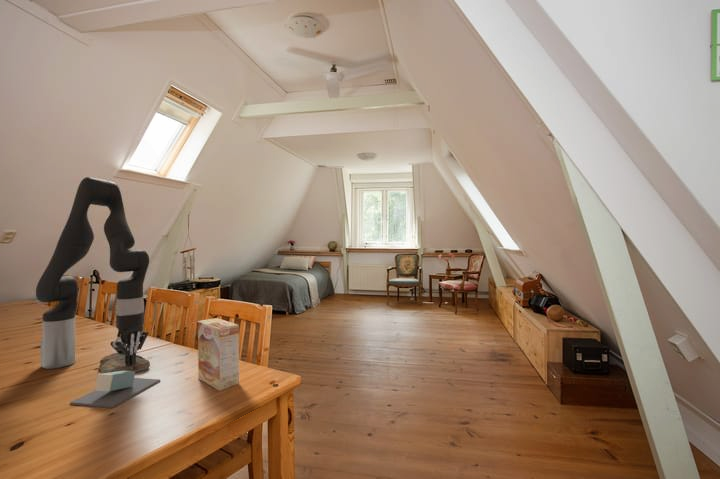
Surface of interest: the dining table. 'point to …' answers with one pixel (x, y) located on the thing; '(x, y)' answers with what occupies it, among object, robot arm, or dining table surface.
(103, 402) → the mat
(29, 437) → the dining table surface
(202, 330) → the coffeecake box
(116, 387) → the block
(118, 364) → the clay tablet
